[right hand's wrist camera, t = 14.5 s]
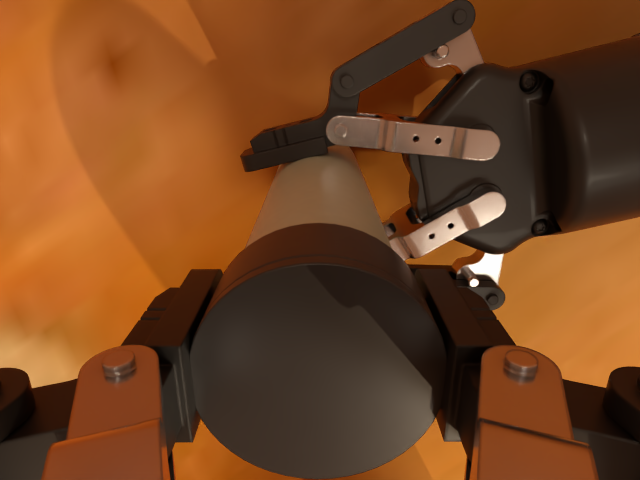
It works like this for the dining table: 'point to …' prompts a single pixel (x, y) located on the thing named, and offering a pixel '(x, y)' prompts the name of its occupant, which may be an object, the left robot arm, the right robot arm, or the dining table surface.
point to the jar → (320, 196)
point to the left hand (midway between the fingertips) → (263, 215)
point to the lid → (318, 354)
